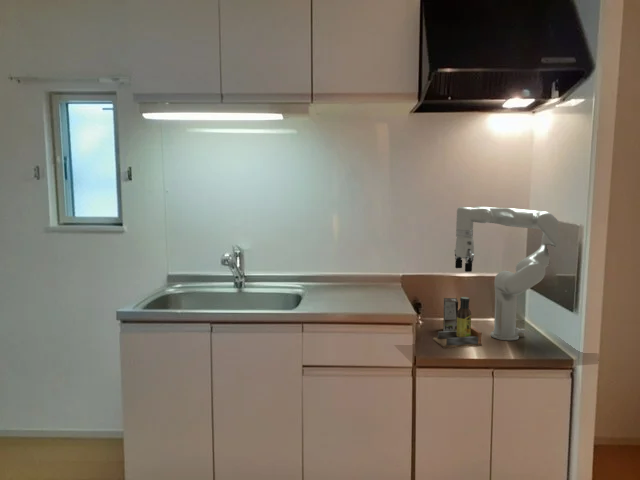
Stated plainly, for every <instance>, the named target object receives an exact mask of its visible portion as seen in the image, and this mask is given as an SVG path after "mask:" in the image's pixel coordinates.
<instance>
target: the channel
mask: <svg viewBox="0 0 640 480" xmlns="http://www.w3.org/2000/svg"><path fill="white" fill-rule="evenodd" d="M456 334H457V331H444V330H443V331H442V330H441V331H437V337H432V340H433V341H435V342H436V343H437V344H439V346H441V347H442V348H443V349H448V348H466V347H467V348H469V347H479V346H482V345H483V344H482V332H481V331H480V330H478V329H476V328H474V327H473V326H471V337H457V335H456Z"/></svg>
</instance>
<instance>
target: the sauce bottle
mask: <svg viewBox="0 0 640 480" xmlns="http://www.w3.org/2000/svg"><path fill="white" fill-rule="evenodd" d="M459 301H460V305H459V308H458V313H457V334H456V335H457V337H471V327H472V312H471V310H470V305H469V304H470V297H468V296H461V297H460V299H459Z"/></svg>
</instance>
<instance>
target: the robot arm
mask: <svg viewBox="0 0 640 480" xmlns="http://www.w3.org/2000/svg"><path fill="white" fill-rule="evenodd" d="M559 222H560V221H559V220H558V218H556V217H555V215H554V214H552V213H551V212H549V211H543V210H535V209H523V208H514V207H491V206H490V207H489V206H481V205H480V206H479V205H475V206H474V207H472V206H471V207H470V206H460V207H457V209H456V223H455V224H456V225H455V226H456V227H455V228H456V231H455V237H456V241H455V249H454V256H455V257H454V261H455V267H454V268H456V269H462V268H463V259H464V260H465V263H464V272H465V273H470V272H472V271H473V263H474V256H475V245H474V235H473V234H474V223H479V224H487V223H488V224H497V225H501V226H506V227H511V228H513V227H514V228H523V229H534V230H540V231H541V232H542V236H541V243H540V246H539V248H538V249H537V250H535V251H534V252H533V253H531V254H529V255H528V256H527V257H525V258H523V259H522V260H520V261H519V262H517V264H516V265H515V272H512V271H509V270H502V271H499V272H498V273H497V274H496V275H495V277H494V291H495V292H494V295H495V297H494V298H495V299H494V323H493V330H492V331H490V336H491V337H492V338H494V339H496V340H500V341H516V340H518V339H519V338H520V336H519V334H522V333H526V329H525V328H519V327H517V306H518V304H517V303H518V298H517V296H519V295H521V294H523V293H525V292H526V291H527V290H529V289H531V288H533V287H534V286H536V285H537V284H538V283H540V282H541V281H542V280H543V279H544V278H545V276H546V268H547V267H548V266H549V265H548V264H549V259H550V257H549V253H548V249H547V245H551V246H554V247H556V245H557V240H558V238H557V237H558V223H559Z"/></svg>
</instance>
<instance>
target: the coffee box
mask: <svg viewBox="0 0 640 480" xmlns="http://www.w3.org/2000/svg"><path fill="white" fill-rule="evenodd" d="M458 310H459V300H458V299H457V297H456V298H455V297H444V298H443V320H442V321H443V324H442V325H443V327H442V330H443V331H457V313H458Z"/></svg>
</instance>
